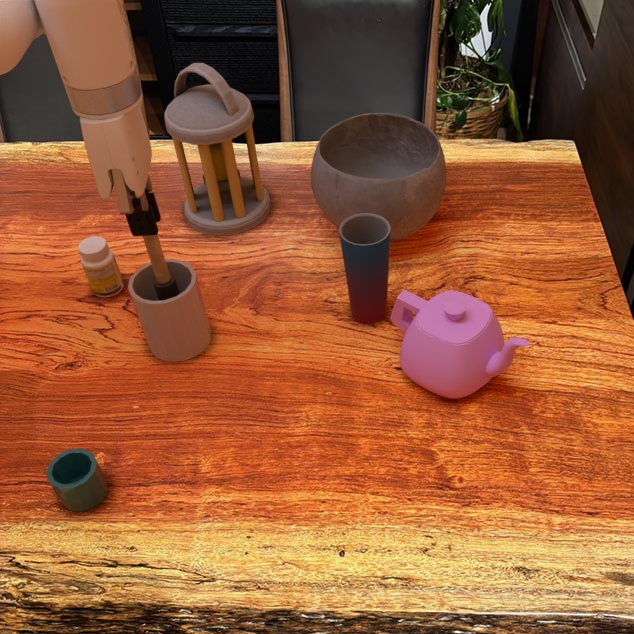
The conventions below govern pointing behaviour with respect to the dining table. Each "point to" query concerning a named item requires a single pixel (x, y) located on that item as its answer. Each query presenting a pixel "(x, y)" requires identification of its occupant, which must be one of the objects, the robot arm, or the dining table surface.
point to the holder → (77, 479)
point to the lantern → (216, 154)
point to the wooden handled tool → (160, 268)
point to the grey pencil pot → (171, 313)
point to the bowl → (380, 171)
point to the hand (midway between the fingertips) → (146, 227)
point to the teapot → (451, 342)
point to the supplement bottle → (100, 267)
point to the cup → (366, 264)
